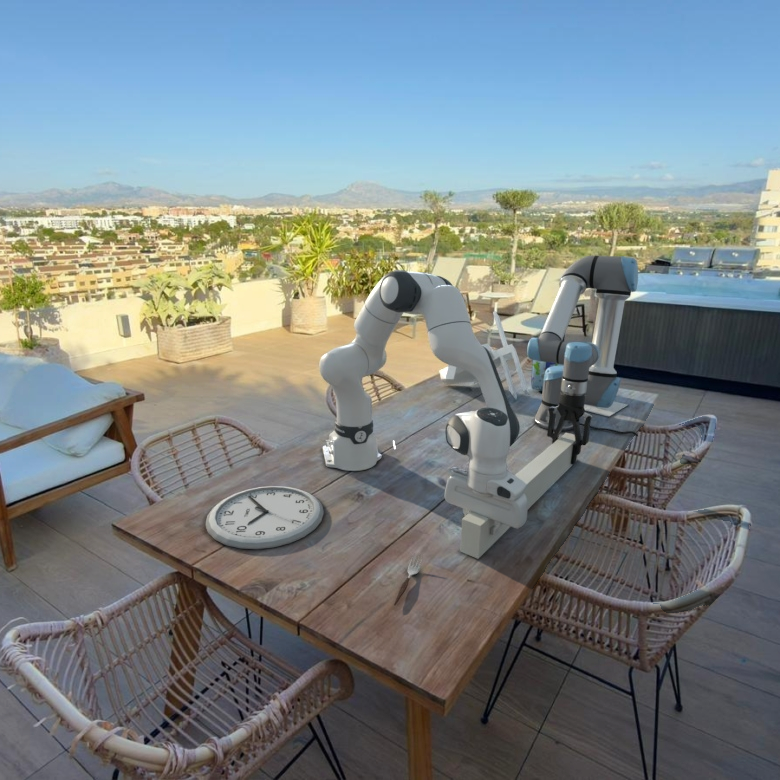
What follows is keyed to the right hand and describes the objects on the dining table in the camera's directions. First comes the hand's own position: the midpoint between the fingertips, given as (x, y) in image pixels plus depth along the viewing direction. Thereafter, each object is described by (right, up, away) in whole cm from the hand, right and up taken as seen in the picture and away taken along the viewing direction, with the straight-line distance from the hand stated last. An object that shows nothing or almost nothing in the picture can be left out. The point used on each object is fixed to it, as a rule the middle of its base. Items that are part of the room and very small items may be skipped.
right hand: (564, 460), depth 170 cm
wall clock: (-89, -10, -33) cm, 96 cm away
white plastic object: (-15, +22, +73) cm, 78 cm away
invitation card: (+35, +15, +56) cm, 68 cm away
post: (-17, -8, -21) cm, 29 cm away
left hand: (-35, -11, -44) cm, 57 cm away
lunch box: (+21, +23, +81) cm, 87 cm away
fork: (-53, -19, -58) cm, 81 cm away
